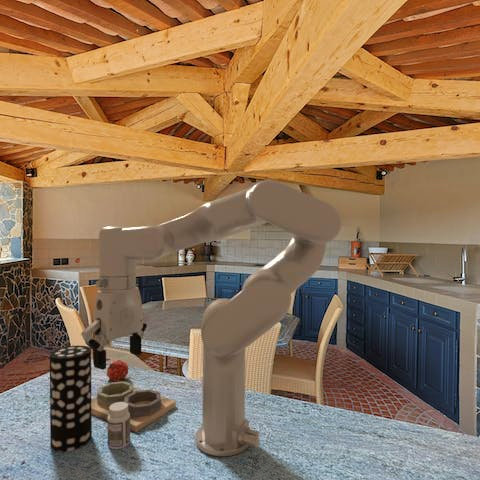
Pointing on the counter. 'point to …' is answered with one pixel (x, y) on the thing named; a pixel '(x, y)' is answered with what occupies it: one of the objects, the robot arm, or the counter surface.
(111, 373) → the decorative stone
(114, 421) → the pill bottle
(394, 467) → the counter surface
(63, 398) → the spotted tube
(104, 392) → the socket board
